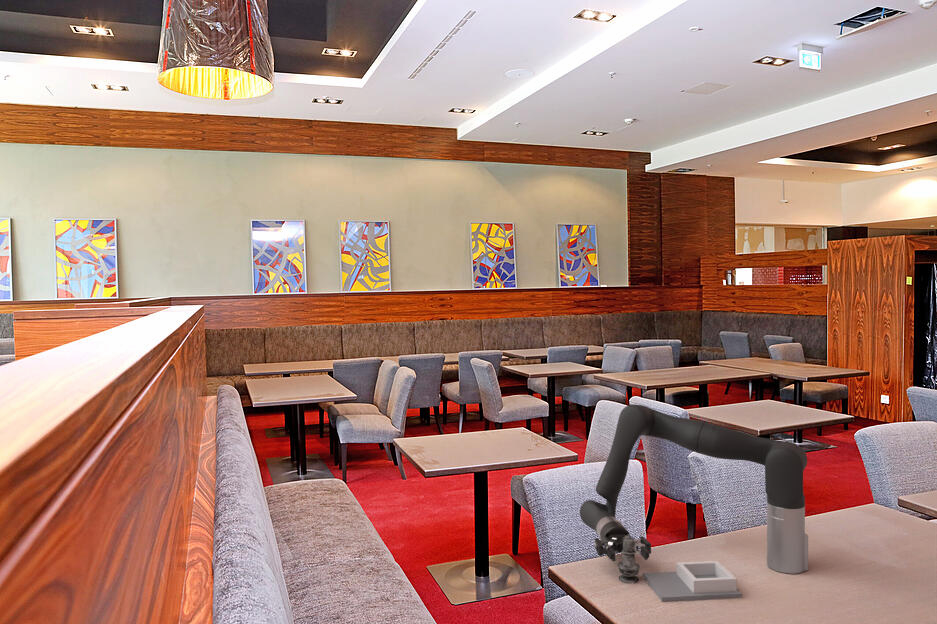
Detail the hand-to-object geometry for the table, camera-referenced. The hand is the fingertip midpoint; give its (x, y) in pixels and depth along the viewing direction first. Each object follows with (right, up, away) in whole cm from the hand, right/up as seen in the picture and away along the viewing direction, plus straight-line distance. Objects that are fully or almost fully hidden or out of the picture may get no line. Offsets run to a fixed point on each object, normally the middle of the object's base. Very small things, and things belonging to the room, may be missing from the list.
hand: (630, 556), depth 174 cm
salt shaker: (0, -7, +2) cm, 7 cm away
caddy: (+14, -6, -3) cm, 16 cm away
